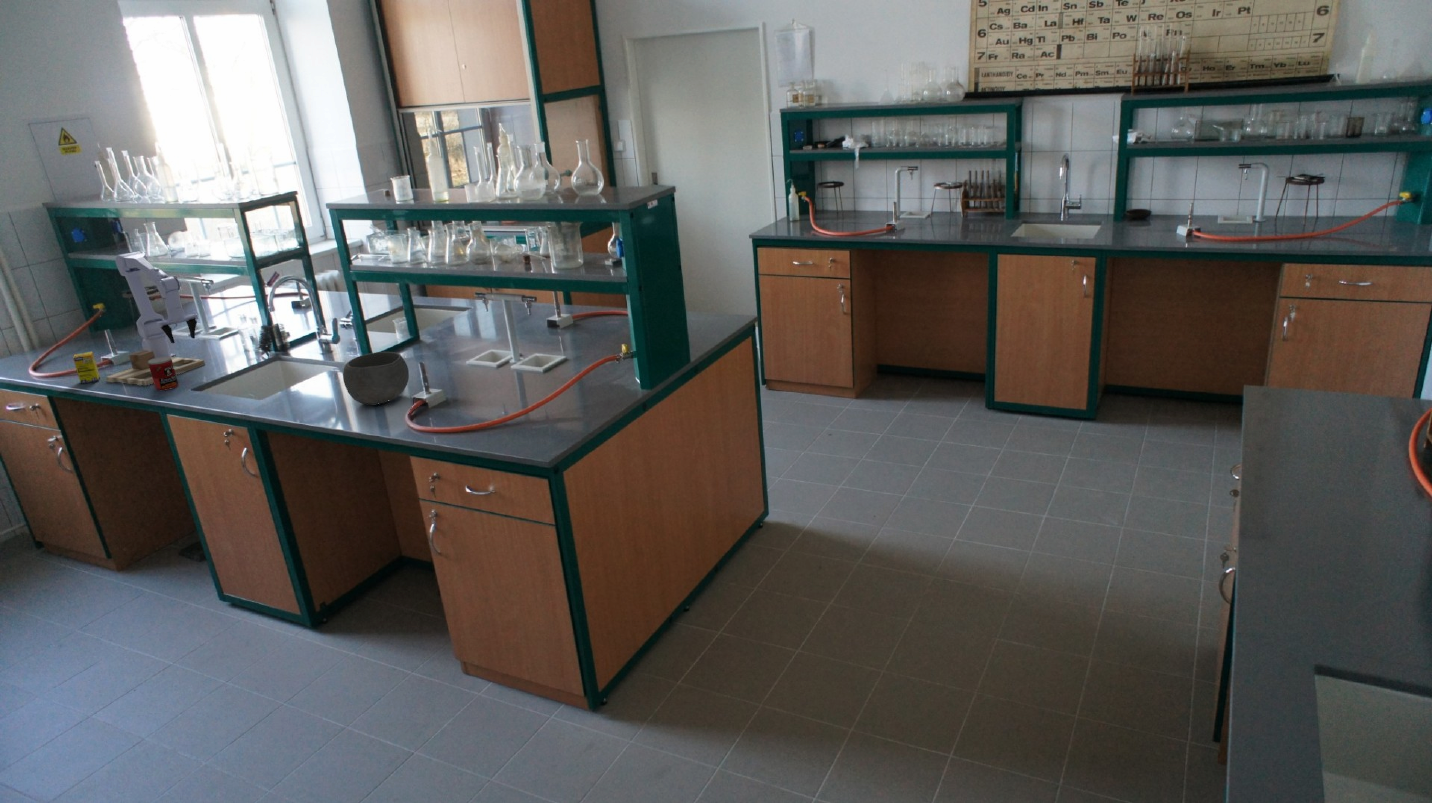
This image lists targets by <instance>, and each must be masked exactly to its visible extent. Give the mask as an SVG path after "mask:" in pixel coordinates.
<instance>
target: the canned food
mask: <svg viewBox="0 0 1432 803" xmlns="http://www.w3.org/2000/svg"><path fill="white" fill-rule="evenodd" d="M148 364H149V368H150V371H151V375H152V378H153V381H154V384H153V385H154V388H155V389H156V390H157V391H160V390H162V391H166V390H165V389H169V390H171V389H170V388H173V389H176V388H177V387H178V386H179V381H178V379H177V375H176V373H175V369H174V366H173V362H172V359H171V357H168V356H164V357H157V358H154V359H151V360H149V361H148Z"/></svg>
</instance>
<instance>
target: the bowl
mask: <svg viewBox="0 0 1432 803" xmlns="http://www.w3.org/2000/svg"><path fill="white" fill-rule="evenodd" d="M409 373H410V372H409V367H408V364H407V362H406V361H405V359H404V357H403V356H402V355H401V354H400V353H398V352H394V351H377V352H370V353H366V354H361V355H359V356H357V357H354V358H352V359H351V360H349V361H347V363H345V365H344V368H343V374H342V379H343V384H344V386H345V389H346V390H347V393H348V394H349V396H350V397H351V398H352V399H353V400H354V401H356V402H358V403H359V404H362V405H365V404H366V406H373V405H372V404H378V403H383V402H386V401H388V400H391V401H393V400H394V398H395V399H396V398H397V397H399V396H400V395H401V394H402V393H403V392H404V391H405V389H406V388H407V386H408V383H409V378H410V377H409V376H410V374H409ZM392 399H393V400H392ZM386 403H387V402H386ZM383 404H384V403H383Z"/></svg>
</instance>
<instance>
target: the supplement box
mask: <svg viewBox="0 0 1432 803" xmlns="http://www.w3.org/2000/svg"><path fill="white" fill-rule="evenodd" d="M72 359H73V363H74V365H75V369H76V372H77V376H78V379H79V381H80V382H79V383H80V384H81V385H84V384H91V383H97V382H99V381H100V379H101V376H100V373H99V368H98V365H97V362H96V359H95V355H94V352H93V351H86V352H82V353H76V354H74V355H73V357H72Z"/></svg>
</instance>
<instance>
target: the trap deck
mask: <svg viewBox="0 0 1432 803" xmlns="http://www.w3.org/2000/svg"><path fill="white" fill-rule="evenodd" d="M171 359H172V362H173V366H174V369H175V373H176V376H178V375H180V373H181V374H183V373H185V372H189V371H191V370H194V369H197V368H200V367H203V366H205V365H206V363H205V360H204V359H198V358H189V357H188V358H187V357H179V356H177V357H176V356H172V357H171ZM177 374H178V375H177ZM105 378H106V382H107V383H114V382H122V383H121V384H123V383H129V384H128V385H132V384H137V385H136V386H141V385H148V386H151V385H154V384H153V383H154V381H153V378H152V375H151V371H150V368H148V369H145V370H138V369H133V367H130V368H128V369H125V370H122V371H119V372H116V373H113V374H110V375H108V376H105ZM130 383H131V384H130ZM150 384H151V385H150Z"/></svg>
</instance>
